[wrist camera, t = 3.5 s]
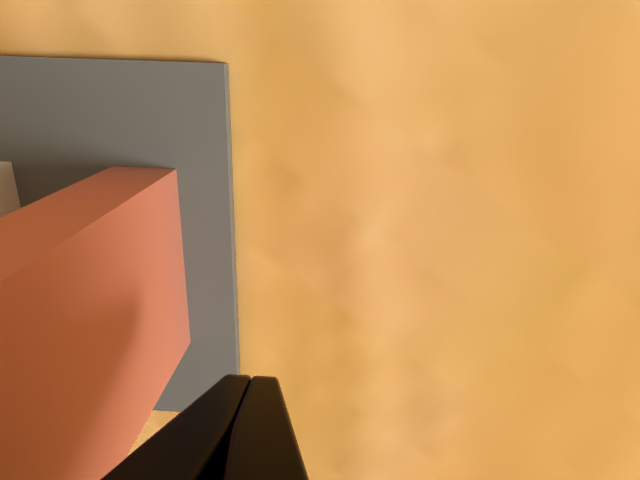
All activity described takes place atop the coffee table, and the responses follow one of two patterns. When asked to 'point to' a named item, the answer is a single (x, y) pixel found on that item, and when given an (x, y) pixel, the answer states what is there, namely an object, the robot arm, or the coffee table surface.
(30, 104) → the mat
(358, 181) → the coffee table surface
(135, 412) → the domino
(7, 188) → the domino
